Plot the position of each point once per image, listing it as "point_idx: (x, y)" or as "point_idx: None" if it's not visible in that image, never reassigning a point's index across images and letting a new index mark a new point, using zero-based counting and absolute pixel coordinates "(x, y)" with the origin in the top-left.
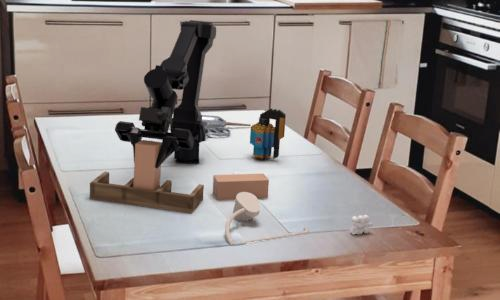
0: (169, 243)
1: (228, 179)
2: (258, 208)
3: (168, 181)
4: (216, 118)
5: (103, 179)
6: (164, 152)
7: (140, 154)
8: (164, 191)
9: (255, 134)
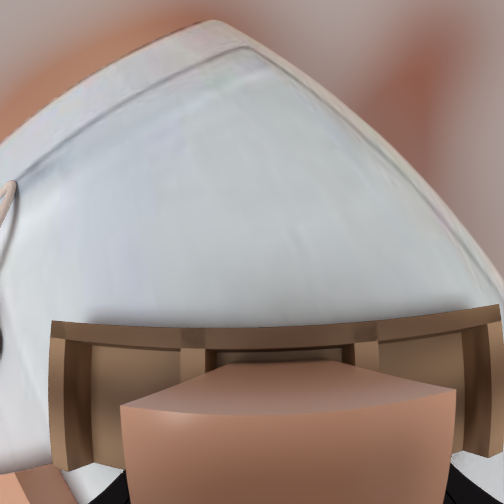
0: (120, 128)
1: (1, 494)
2: None
3: None
4: None
5: (484, 400)
6: (111, 488)
7: (338, 384)
8: None
9: None
